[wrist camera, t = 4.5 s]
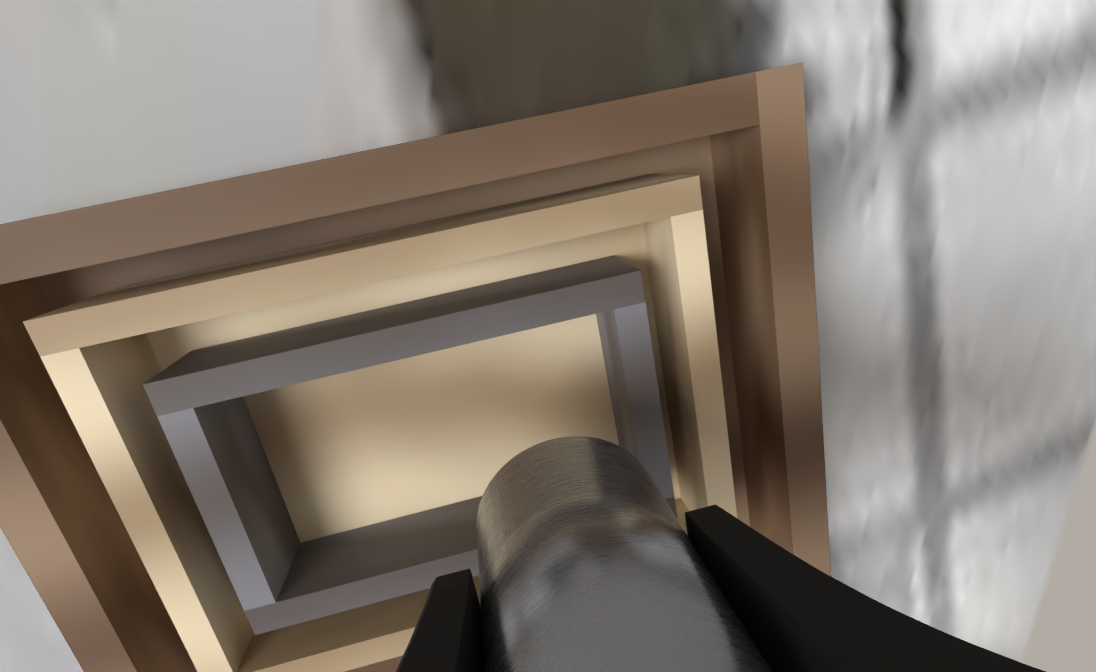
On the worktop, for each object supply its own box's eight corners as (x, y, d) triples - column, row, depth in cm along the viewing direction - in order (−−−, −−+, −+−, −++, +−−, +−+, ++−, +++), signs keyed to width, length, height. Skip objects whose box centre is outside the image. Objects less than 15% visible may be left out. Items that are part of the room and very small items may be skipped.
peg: (671, 567, 13) (831, 867, 8) (502, 618, 13) (539, 972, 7) (640, 413, 12) (805, 636, 6) (453, 466, 12) (451, 750, 6)
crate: (695, 495, 20) (742, 560, 17) (257, 612, 19) (215, 707, 16) (650, 173, 17) (699, 174, 13) (115, 288, 15) (22, 321, 12)
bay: (779, 641, 24) (839, 729, 21) (265, 791, 23) (226, 918, 19) (728, 84, 18) (803, 62, 14) (-10, 234, 16) (-157, 256, 12)
